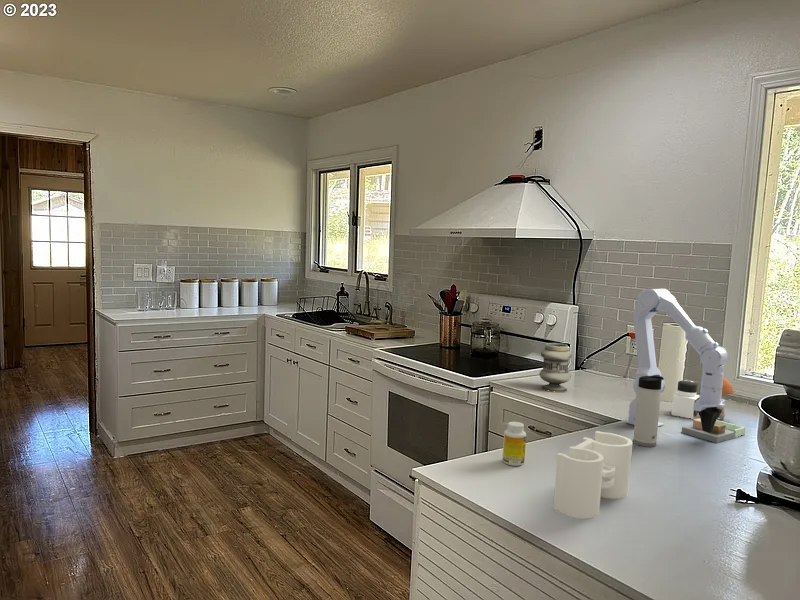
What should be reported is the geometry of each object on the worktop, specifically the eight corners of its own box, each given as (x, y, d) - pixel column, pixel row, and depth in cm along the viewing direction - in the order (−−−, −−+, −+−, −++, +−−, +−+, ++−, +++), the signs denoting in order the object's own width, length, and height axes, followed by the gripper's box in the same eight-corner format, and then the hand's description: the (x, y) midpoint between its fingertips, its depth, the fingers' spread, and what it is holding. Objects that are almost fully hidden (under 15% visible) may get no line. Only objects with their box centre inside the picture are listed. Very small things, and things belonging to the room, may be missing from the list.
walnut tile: (718, 434, 183) (719, 426, 183) (706, 431, 186) (707, 423, 186) (724, 432, 185) (725, 425, 185) (713, 429, 188) (714, 421, 188)
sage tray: (735, 437, 187) (735, 430, 187) (700, 427, 196) (700, 420, 196) (744, 435, 190) (745, 427, 190) (709, 425, 199) (710, 418, 199)
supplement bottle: (525, 467, 152) (528, 427, 151) (503, 465, 153) (506, 426, 152) (522, 459, 158) (525, 421, 157) (501, 458, 158) (503, 419, 157)
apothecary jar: (532, 386, 243) (535, 342, 241) (556, 385, 248) (559, 341, 246) (551, 394, 232) (555, 347, 230) (576, 392, 237) (579, 346, 235)
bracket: (592, 524, 123) (596, 466, 121) (547, 509, 129) (551, 453, 128) (634, 489, 142) (639, 439, 141) (594, 478, 148) (598, 429, 147)
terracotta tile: (703, 430, 187) (704, 422, 187) (692, 427, 190) (693, 419, 189) (710, 428, 189) (711, 421, 189) (699, 425, 192) (700, 418, 192)
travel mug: (659, 448, 173) (665, 379, 171) (635, 445, 174) (641, 377, 172) (654, 441, 179) (661, 374, 177) (631, 439, 180) (637, 372, 178)
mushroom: (704, 419, 206) (709, 376, 205) (705, 414, 213) (709, 372, 212) (731, 423, 203) (735, 379, 201) (730, 418, 210) (735, 375, 208)
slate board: (716, 443, 181) (717, 437, 180) (681, 432, 190) (682, 426, 189) (735, 437, 187) (735, 432, 187) (700, 427, 196) (700, 422, 196)
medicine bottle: (693, 419, 206) (696, 384, 204) (671, 415, 210) (674, 381, 209) (697, 415, 211) (701, 381, 210) (676, 411, 216) (679, 378, 214)
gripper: (712, 392, 174) (707, 438, 175) (737, 387, 182) (732, 431, 183) (688, 387, 180) (684, 431, 181) (713, 382, 188) (709, 425, 189)
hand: (707, 431), depth 183 cm, fingers closed
